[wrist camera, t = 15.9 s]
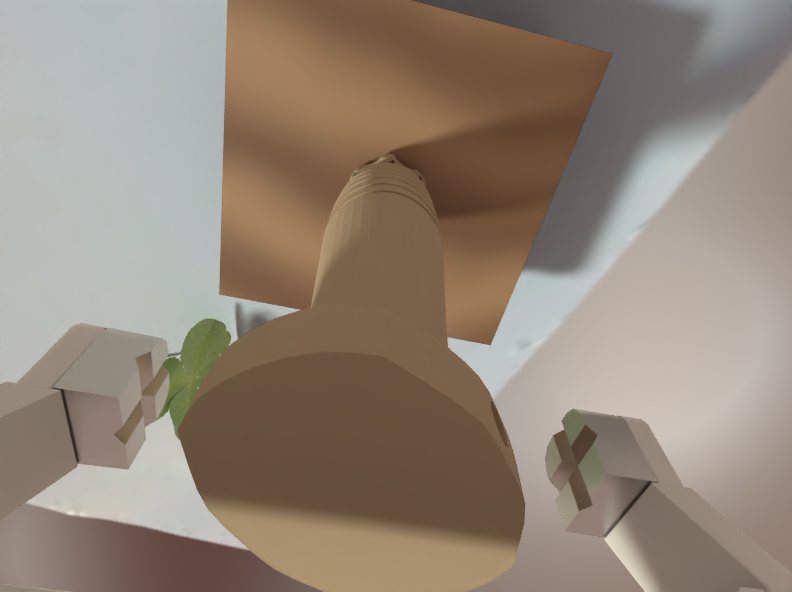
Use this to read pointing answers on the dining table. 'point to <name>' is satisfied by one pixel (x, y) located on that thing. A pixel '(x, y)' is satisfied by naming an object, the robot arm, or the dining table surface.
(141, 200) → the dining table surface
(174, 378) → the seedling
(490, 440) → the handle
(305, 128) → the stand
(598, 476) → the robot arm
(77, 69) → the dining table surface
